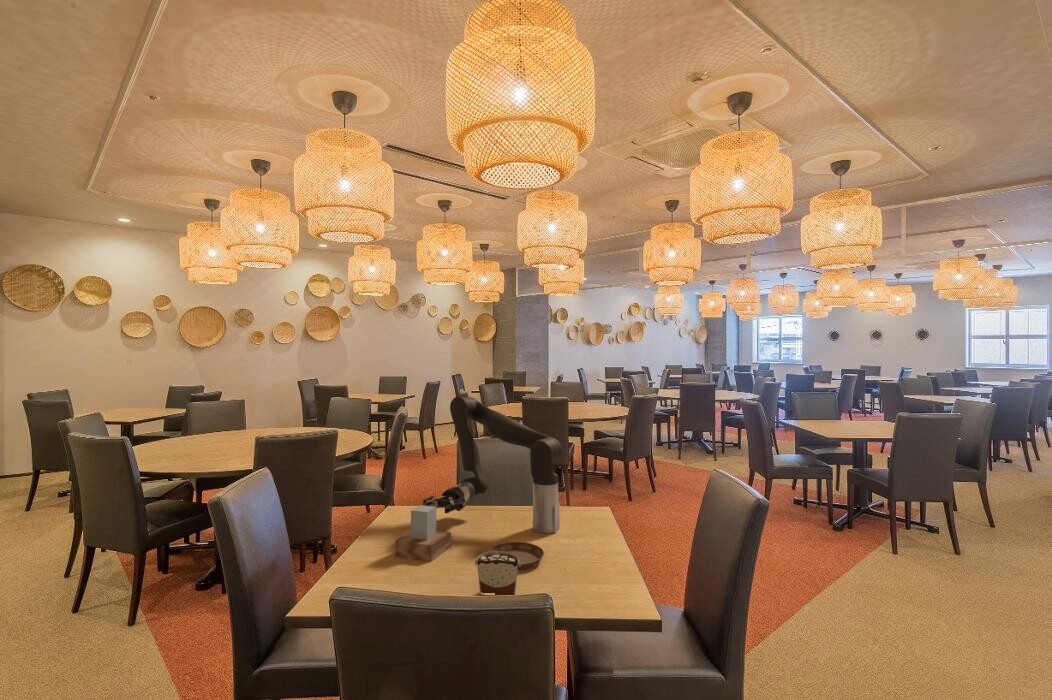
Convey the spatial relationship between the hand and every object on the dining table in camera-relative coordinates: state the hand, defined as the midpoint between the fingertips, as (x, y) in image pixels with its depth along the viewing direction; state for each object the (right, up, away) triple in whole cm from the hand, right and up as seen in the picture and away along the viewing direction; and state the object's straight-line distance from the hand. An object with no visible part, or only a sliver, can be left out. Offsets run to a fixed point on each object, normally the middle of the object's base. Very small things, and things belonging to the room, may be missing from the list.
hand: (434, 509), depth 181 cm
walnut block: (-2, -12, -6) cm, 14 cm away
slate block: (-2, -7, -6) cm, 9 cm away
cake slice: (+24, -12, -34) cm, 44 cm away
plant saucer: (+28, -13, -14) cm, 33 cm away
